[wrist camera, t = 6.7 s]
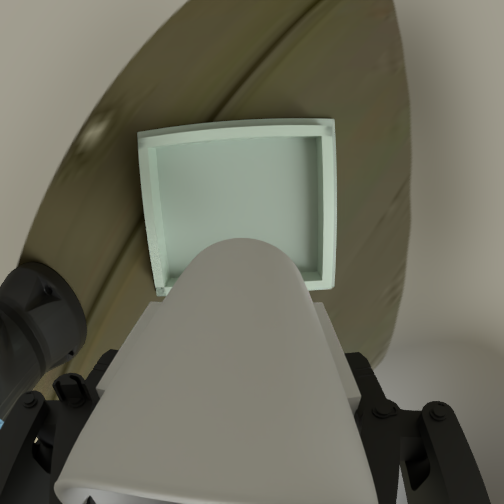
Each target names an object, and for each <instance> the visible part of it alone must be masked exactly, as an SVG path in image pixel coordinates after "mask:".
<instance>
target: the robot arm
mask: <svg viewBox="0 0 504 504" xmlns="http://www.w3.org/2000/svg"><path fill="white" fill-rule="evenodd" d="M161 304H162V302H150V303H149V305H148V306H147V308H146V309H145V311H144V312H143V314H142V315H141V317H140V318H139V320H138V322H137V323H136V325H135V326H134V328H133V329H132V331H131V332H130V334H129V335H128V337H127V338H126V340H125V342H124V343H123V345H122V346H121V348H120V349H119V350H113V349H110V350H109V351H107V352H106V353H105V354H103V355H102V356H101V358H100V359H99V361H98V362H97V364H96V365H95V366H94V368H93V370H92V371H91V372H90V374H89V376H88V377H87V379H86V380H84V379H83V377H82V376H81V375H79V374H76V373H68V374H64V375H62V376H59V377H58V378H57V379H56V380H55V381H54V383H53V385H52V386H53V388H54V390H55V392H56V394H57V396H58V398H59V400H45V398H44V396H43V395H42V394H41V393H40V392H38V391H32V390H33V388H34V387H35V386H36V384H37V383H38V382H39V380H40V379H41V378H42V376H43V375H44V374H45V373H46V372H48V371H50V370H52V369H54V368H56V367H58V366H60V365H62V364H64V363H66V362H68V361H69V360H71V359H72V358H74V357H75V356H76V354H77V353H78V352H79V351H80V349H81V348H82V347H83V345H84V343H85V340H86V335H87V327H86V320H85V316H84V313H83V310H82V307H81V305H80V303H79V301H78V299H77V297H76V295H75V294H74V292H73V291H72V289H71V288H70V287H69V285H68V284H67V283H66V282H65V281H64V280H63V278H62V277H61V276H59V275H58V274H57V273H56V272H55V271H53V270H52V269H51V268H49V267H47V266H45V265H43V264H40V263H36V262H28V263H25V264H22V265H21V266H19V267H17V268H16V269H14V270H13V271H12V272H11V273H10V274H9V275H8V276H7V277H6V279H5V280H4V282H3V283H2V285H1V287H0V504H62V502H61V501H60V500H59V499H58V497H57V496H56V494H55V491H54V485H55V482H56V481H57V480H58V478H59V476H60V474H61V472H62V469H63V467H64V465H65V463H66V461H67V458H68V456H69V454H70V452H71V450H72V448H73V446H74V444H75V442H76V441H77V439H78V437H79V435H80V433H81V431H82V430H83V428H84V426H85V424H86V422H87V421H88V419H89V417H90V416H91V414H92V412H93V410H94V409H95V407H96V405H97V404H98V402H99V400H100V399H101V397H102V395H103V394H104V392H105V390H106V389H107V387H108V386H109V384H110V382H111V381H112V379H113V378H114V376H115V374H116V373H117V371H118V370H119V368H120V366H121V365H122V363H123V362H124V360H125V359H126V357H127V355H128V354H129V352H130V351H131V349H132V348H133V346H134V345H135V343H136V341H137V340H138V338H139V337H140V335H141V334H142V332H143V331H144V329H145V328H146V326H147V325H148V323H149V322H150V320H151V319H152V317H153V316H154V314H155V313H156V311H157V310H158V308H159V307H160V305H161ZM313 305H314V307H315V310H316V313H317V316H318V318H319V321H320V324H321V326H322V329H323V332H324V335H325V337H326V340H327V343H328V346H329V348H330V351H331V354H332V357H333V359H334V362H335V365H336V368H337V370H338V373H339V376H340V379H341V382H342V385H343V387H344V390H345V393H346V396H347V399H348V402H349V405H350V408H351V411H352V414H353V417H354V420H355V423H356V426H357V429H358V432H359V435H360V438H361V441H362V444H363V448H364V451H365V454H366V457H367V461H368V464H369V467H370V471H371V474H372V478H373V482H374V486H375V490H376V494H377V499H378V504H396V499H397V489H398V479H399V465H400V467H401V472H402V477H403V481H404V486H405V491H406V496H407V502H408V504H491V503H490V500H489V497H488V494H487V491H486V488H485V485H484V482H483V479H482V477H481V474H480V471H479V469H478V466H477V464H476V461H475V459H474V456H473V454H472V452H471V449H470V447H469V444H468V442H467V440H466V437H465V435H464V433H463V430H462V428H461V426H460V424H459V422H458V419H457V417H456V415H455V413H454V411H453V409H452V408H451V407H450V406H449V405H447V404H446V403H444V402H440V401H432V402H429V403H427V404H426V405H425V406H424V407H423V409H422V411H411V410H402V409H400V408H399V407H398V405H397V404H396V403H394V402H392V401H391V400H388V399H386V397H385V395H384V393H383V391H382V388H381V386H380V384H379V382H378V380H377V378H376V376H375V375H374V372H373V370H372V369H371V366H370V364H369V362H368V360H367V358H365V357H364V356H363V355H362V354H361V353H359V352H355V353H344V352H343V350H342V347H341V345H340V342H339V340H338V338H337V335H336V333H335V331H334V328H333V326H332V324H331V321H330V319H329V317H328V314H327V312H326V310H325V308H324V305H323V303H322V302H318V303H313ZM36 437H37V438H38V440H37V442H36V443H34V441H35V439H36ZM86 504H96V503H95V501H94V500H93V498H92V497H91V496H89V498H88V500H87V503H86Z"/></svg>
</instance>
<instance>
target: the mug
mask: <svg viewBox="0 0 504 504" xmlns="http://www.w3.org/2000/svg"><path fill="white" fill-rule="evenodd" d="M54 491H55V494H56V496H57V497H58V499H59V500H60V501H61V502H62V504H86V503H87V500H88V498H89V496H91V497H92V498H93V500H94V501H95V503H96V504H378V499H377V494H376V490H375V486H374V482H373V478H372V474H371V471H370V467H369V464H368V461H367V457H366V454H365V451H364V448H363V444H362V441H361V438H360V435H359V432H358V429H357V426H356V423H355V420H354V417H353V414H352V411H351V408H350V405H349V402H348V399H347V396H346V393H345V390H344V387H343V385H342V382H341V379H340V376H339V373H338V370H337V368H336V365H335V362H334V359H333V357H332V354H331V351H330V348H329V346H328V343H327V340H326V337H325V335H324V332H323V329H322V326H321V324H320V321H319V318H318V316H317V313H316V310H315V307H314V305H313V302H312V299H311V297H310V294H309V292H308V289H307V287H306V285H305V282H304V280H303V278H302V276H301V274H300V272H299V270H298V268H297V266H296V265H295V264H294V262H293V261H292V260H291V259H290V258H289V257H288V256H287V255H286V254H285V253H284V252H282V251H281V250H280V249H278V248H277V247H275V246H273V245H271V244H269V243H266V242H264V241H261V240H257V239H251V238H232V239H226V240H223V241H219V242H217V243H214V244H212V245H210V246H208V247H207V248H205V249H204V250H202V251H201V252H200V253H199V254H198V255H197V256H196V257H195V258H194V259H193V260H192V261H191V262H190V264H189V265H188V266H187V267H186V269H185V270H184V271H183V273H182V274H181V275H180V277H179V278H178V280H177V281H176V283H175V284H174V285H173V287H172V288H171V290H170V291H169V293H168V294H167V296H166V297H165V299H164V300H163V302H162V304H161V305H160V307H159V308H158V310H157V311H156V313H155V314H154V316H153V317H152V319H151V320H150V322H149V323H148V325H147V326H146V328H145V329H144V331H143V332H142V334H141V335H140V337H139V338H138V340H137V341H136V343H135V345H134V346H133V348H132V349H131V351H130V352H129V354H128V355H127V357H126V359H125V360H124V362H123V363H122V365H121V366H120V368H119V370H118V371H117V373H116V374H115V376H114V378H113V379H112V381H111V382H110V384H109V386H108V387H107V389H106V390H105V392H104V394H103V395H102V397H101V399H100V400H99V402H98V404H97V405H96V407H95V409H94V410H93V412H92V414H91V416H90V417H89V419H88V421H87V422H86V424H85V426H84V428H83V430H82V431H81V433H80V435H79V437H78V439H77V441H76V442H75V444H74V446H73V448H72V450H71V452H70V454H69V456H68V458H67V461H66V463H65V465H64V467H63V469H62V472H61V474H60V476H59V478H58V480H57V481H56V482H55V485H54Z"/></svg>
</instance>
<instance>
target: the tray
mask: <svg viewBox="0 0 504 504" xmlns="http://www.w3.org/2000/svg"><path fill="white" fill-rule="evenodd" d="M137 138H138V154H139V168H140V179H141V190H142V199H143V208H144V216H145V224H146V232H147V239H148V246H149V252H150V259H151V265H152V271H153V276H154V282H155V288H156V293H157V296H167V294H168V293H169V291H170V290H171V288H172V287H173V285H174V284H175V283H176V281H177V280H178V278H179V277H180V275H181V274H182V273H183V271H184V270H185V269H186V267H187V266H188V265H189V264H190V262H191V261H192V260H193V259H194V258H195V257H196V256H197V255H198V254H199V253H200V252H201V251H202V250H204V249H205V248H207V247H208V246H210V245H212V244H214V243H217V242H219V241H223V240H226V239H232V238H251V239H257V240H261V241H264V242H266V243H269V244H271V245H273V246H275V247H277V248H278V249H280V250H281V251H282V252H284V253H285V254H286V255H287V256H288V257H289V258H290V259H291V260H292V261H293V262H294V264H295V265H296V266H297V268H298V270H299V272H300V274H301V276H302V278H303V280H304V282H305V285H306V287H307V289H308V290H322V289H331V287H334V282H335V261H336V228H337V175H336V143H335V123H334V119H316V118H279V119H251V120H234V121H221V122H210V123H200V124H191V125H183V126H175V127H168V128H161V129H155V130H148V131H142V132H137Z"/></svg>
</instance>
